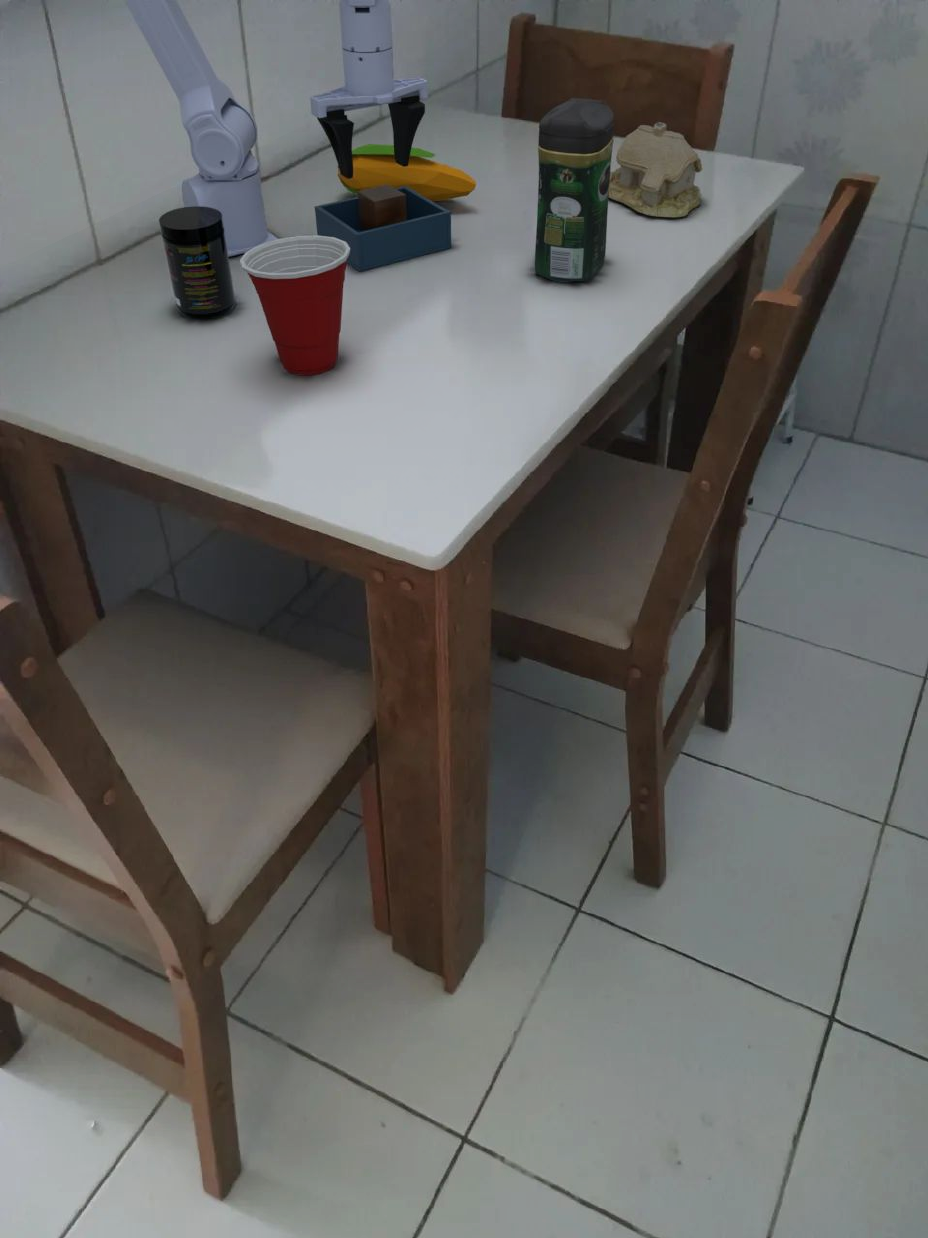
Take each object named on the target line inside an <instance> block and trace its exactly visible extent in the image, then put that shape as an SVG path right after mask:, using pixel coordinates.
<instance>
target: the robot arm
mask: <svg viewBox="0 0 928 1238" xmlns="http://www.w3.org/2000/svg"><path fill="white" fill-rule="evenodd" d="M123 1H124V3H125V4H126V7H127V8H128V10H129V12H130V14H131V15H132V17H133V19H134V21H135V24H136V25H137V26H138V28H139V30H140V32H141V35H142V36H143V37H144V39H145V41H146V43H147V45H148V46H149V49H150V50H151V52H152V54H153V55H154V57H155V59H156V61H157V62H158V65H159V67H160V68H161V70H162V72H163V75H165V77H166V80H167V82H168V83H169V84H170V87H171V88H172V90H173V92H174V94H175V95H176V98H177V99H178V103H179V108H180V109H179V110H180V117H181V123H182V126H183V128H184V130H185V131H186V134H187V136H188V139H189V143H190V145H189V146H190V152H191V157H192V159H193V162H194V163H195V165H196V166H197V168H198V173H197V174H195V175H194V176H192V177H189V178H186V179H184V180H183V181H182V182H181V195H182V202H183V206H184V207H193V206H202V207H210V208H214V209H216V210H218V211H220V212H221V214H222V218H223V225H224V229H225V231H224V233H225V239H226V245H227V251H228V258H230V257H233V256H238V255H243V254H245V253H246V252H247V251H249V250H251V249H253V248H254V247H256V246H258V245H261V244H264V243H267V242H271V241H274V240H277V239H279V238H278V237H276V236H275V235H274V234H273V233H271V232H270V231H269V230H268V227H267V219H266V212H265V211H266V210H265V204H264V196H263V188H262V181H261V173H260V165H259V162H258V160H257V159H256V158H255V156H254V154H253V153H252V149H253V148H254V146H255V145H256V142H257V139H258V127H257V123H256V120H255V118H254V116H253V115H252V113H251V112H250V111H249V110H248V109H247V108H246V107H244V106H243V105H242V103H240V102H239V101H238V100H237V98H236V97H235V95H234V94H233V91H232V90H231V88H230V87H229V86H228V85H227V84H226V83H224V81H222V80H221V79H220V78H219V77H218V76H217V75H216V72H215V70H214V69H213V66H212V65H211V63H210V61H209V59H208V57H207V55H206V53H205V52H204V49H203V48H202V46H201V44H200V42H199V40H198V38H197V36H196V34H195V32H194V30H193V28H192V27H191V24H190V23H189V21H188V18H187V17H186V15H185V14H184V11H183V9H182V7H181V5H180V3H179V2H178V0H123ZM391 3H392V1H391V0H339V1H338V8H339V23H340V33H341V35H340V36H341V50H342V51H341V52H342V64H343V77H344V85H343V86H341V87H338V88H335V89H333V90H329V91H326V92H323V93H320V94H316V95H310V96H309V101H310V111H311V112H310V113H311V115H313V116H314V117H316V119H317V121H318V122H319V123H318V124H320V126H321V128H322V129H323V131H324V134H325V135H326V136H327V139H328V141H329V143H330V147H331V148H332V151H333V154H334V156H335V159H336V162H337V167H338V166H339V170H340V174H341V175H342V176H344V177H346V178H347V179H349V178H353V159H352V151H353V135H354V126H355V123H354V122H353V120H350V119H348V115H347V114H346V113H345V112H350V111H355V110H362V109H367V108H373V107H377V106H383V105H387V106H388V110H389V115H390V120H391V126H392V135H393V145H394V156H395V162H396V163H398V164H399V165H401V166H403V167H406V166H408V163H409V157H410V152H411V147H412V148H413V143H414V139H415V136H416V133H417V131H418V128H419V126H420V123H421V121H422V119H423V117H424V115H425V113H426V104H425V103H424V102H422V101H421V100H426V99H429V90H428V89H429V87H428V85H429V84H428V83H429V82H428V81H427V80H426V79H424V78H422V77H413V78H402V79H400V78H399V79H395V76H394V75H395V74H394V51H393V50H394V49H393V27H392V5H391Z"/></svg>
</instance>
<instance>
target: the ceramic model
mask: <svg viewBox="0 0 928 1238" xmlns="http://www.w3.org/2000/svg"><path fill="white" fill-rule="evenodd" d="M615 160H616V163H617V164H618V165H620V166H619V167H618V168H615V170H614V171H610V182H609V198H610V199H611V200H613V201H617V202H619V203H621V204H624V205H626V206H628V207H630V208H631V209H633V210H634V211H636V212H637V213H640V214H644V215H646V216H650V217H661V218H680V217H686V216H687V215H688V214H689V212H690V211H692V210H693V209H695V208H696V207H698V206H699V205H700V203H701V201H702V193H701V189H700V187H699V186H698V185H695V181H696V173H701V172H702V170H703V164H702V160H701V158H700V157H699V153H697V152H696V151H695V149H694V148H692V146H691V145H690V144H689V143H688V141H687V140H686V139H685V137H684V135H683V134H681V133H679V132H675V131H672V130H667V124H666V123H665V122H660V121H658V122H656V123H654V125H653V126H650V125H648V124H647V125H646V124H641V125H639V126H638V127H637V128H636V129H634V130H633V131H632V132H631V133H629V134H627V135H626V136H625V138H624V140H623V141H622V142H621V144H620V146H619V149H618V150H617V153H616V156H615ZM609 198H608V199H609Z"/></svg>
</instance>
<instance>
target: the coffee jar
mask: <svg viewBox="0 0 928 1238" xmlns="http://www.w3.org/2000/svg"><path fill="white" fill-rule="evenodd" d="M538 123H539V124H538V141H537V142H538V143H537V152H538V153H537V155H538V156H537V157H538V189H537V211H536V213H537V214H536V231H535V247H534V270H535V272H536V274H538V275H539V276H542V277H544V278H546V279H547V280H551V281H554V282H558V283H572V282H573V283H574V282H586V281H588V280H590V279H591V278H593V277H594V276H595V275H596V274H597V273H598V272H599V270H600V269H601V268H602V266H603V264H604V262H605V259H606V252H607V251H606V250H607V233H608V213H609V212H608V211H609V182H610V172H611V168H612V166H611V165H612V157H613V146H614V135H615V123H616V122H615V114H614V112H613V111H612V109H611V108H610V107H609V106H608V105H607V104H606V103H605V101H603V100H599V99H589V98H588V99H587V98H578V97H577V98H576V97H571V98H569V99H568V100H567V101H565V102H563V103H561V104H559V105H557V106H555V107H553V108H552V109H551V110H550V111H548V112H547V113H546V114H545V115H544V116H543V117H542V118H541V120H540V121H539V122H538Z"/></svg>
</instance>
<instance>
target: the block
mask: <svg viewBox="0 0 928 1238" xmlns="http://www.w3.org/2000/svg"><path fill="white" fill-rule="evenodd" d="M357 197H358V201H359V214H360V228H361V232H363V231H367V230H371V229H375V228H379V227H383V226H387V225H392V224H396V223H400V222H404V221H407V211H406V195H405V194H404V193H402V192H400V191H399V190H397V189H395V188H394V187H392V186H390V185H383V186H379V187H375V188H370V189H366V190H361V191H358V196H357Z"/></svg>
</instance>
